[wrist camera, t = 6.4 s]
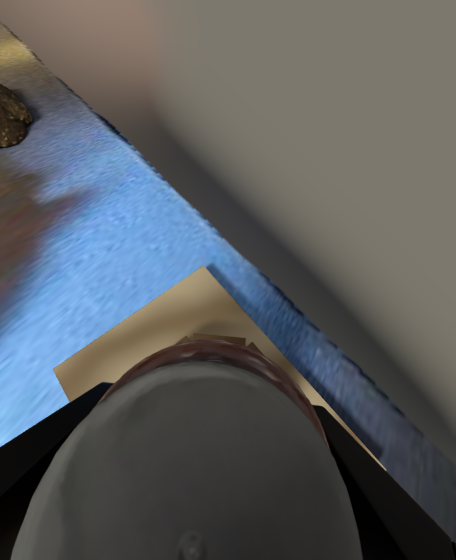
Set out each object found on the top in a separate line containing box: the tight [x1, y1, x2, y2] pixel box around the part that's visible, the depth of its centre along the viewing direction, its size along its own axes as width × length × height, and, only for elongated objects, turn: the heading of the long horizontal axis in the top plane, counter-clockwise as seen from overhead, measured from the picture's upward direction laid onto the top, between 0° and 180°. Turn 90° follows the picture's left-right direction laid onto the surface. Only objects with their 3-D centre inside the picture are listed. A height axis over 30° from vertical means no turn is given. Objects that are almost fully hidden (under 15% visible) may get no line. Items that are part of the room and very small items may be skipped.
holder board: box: [53, 266, 386, 471], centre depth 16 cm, size 20×14×3 cm
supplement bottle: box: [11, 339, 363, 560], centre depth 8 cm, size 6×6×11 cm
